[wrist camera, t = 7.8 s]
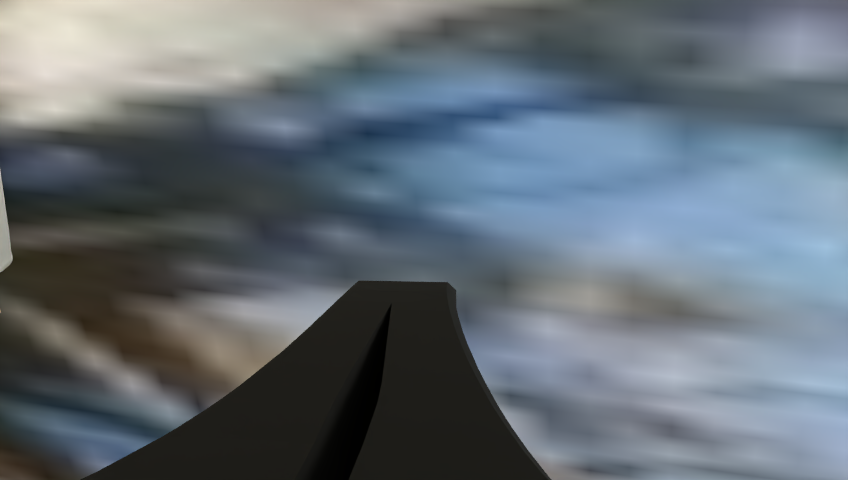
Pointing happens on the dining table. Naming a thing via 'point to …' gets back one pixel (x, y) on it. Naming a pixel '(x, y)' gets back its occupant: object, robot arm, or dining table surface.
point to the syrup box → (4, 233)
